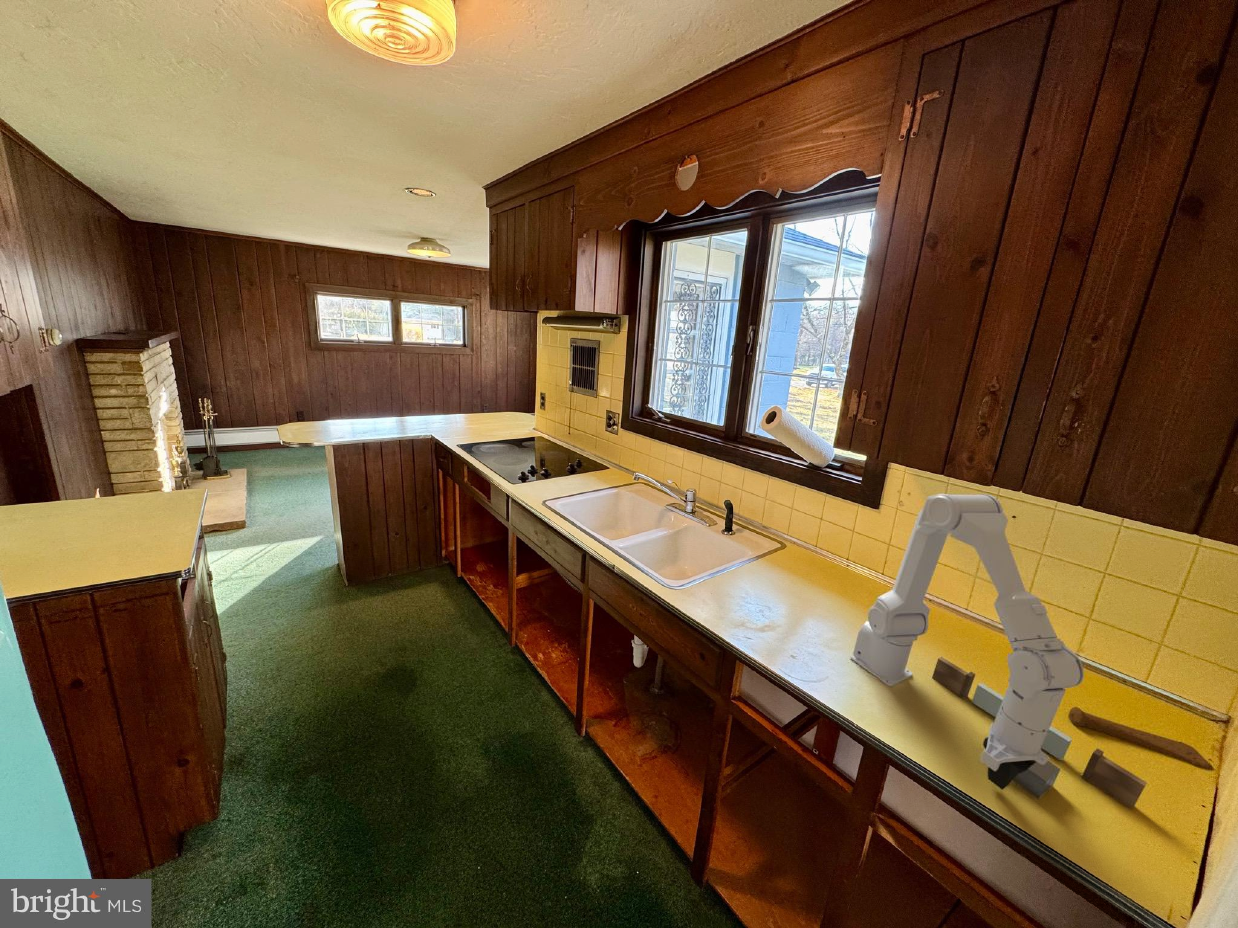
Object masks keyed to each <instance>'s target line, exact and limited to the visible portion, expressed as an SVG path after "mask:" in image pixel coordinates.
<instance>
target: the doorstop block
mask: <svg viewBox="0 0 1238 928" xmlns="http://www.w3.org/2000/svg"><path fill="white" fill-rule="evenodd" d="M1060 771H1061V768H1060V767H1059V766H1058V765H1055V764H1054V763H1052V762H1051V761H1049V760H1048V762H1047V763H1045V764H1044V765H1042V764H1039V763H1038V762H1036V763H1035V764H1034V765H1032V766H1031V767H1030V768H1029V769H1027V770H1026V771H1024V772H1022V773H1019V774H1018V775H1017V776H1016V777H1015V779H1014V780H1013V781H1012V782H1014V783H1015V784H1017V785H1018V786H1019V787H1021V788H1022V789H1024V791H1026V792H1028V793H1029V794H1030V795H1032V796H1033V797H1035V798H1036V799H1037V800H1039V799H1041V797H1043V796H1044V795H1045V794H1047V792H1048V791H1049V790H1050V789H1052V788H1053V786H1054V784H1055V782H1056V780H1057V778H1058V775H1059V774H1060Z"/></svg>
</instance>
